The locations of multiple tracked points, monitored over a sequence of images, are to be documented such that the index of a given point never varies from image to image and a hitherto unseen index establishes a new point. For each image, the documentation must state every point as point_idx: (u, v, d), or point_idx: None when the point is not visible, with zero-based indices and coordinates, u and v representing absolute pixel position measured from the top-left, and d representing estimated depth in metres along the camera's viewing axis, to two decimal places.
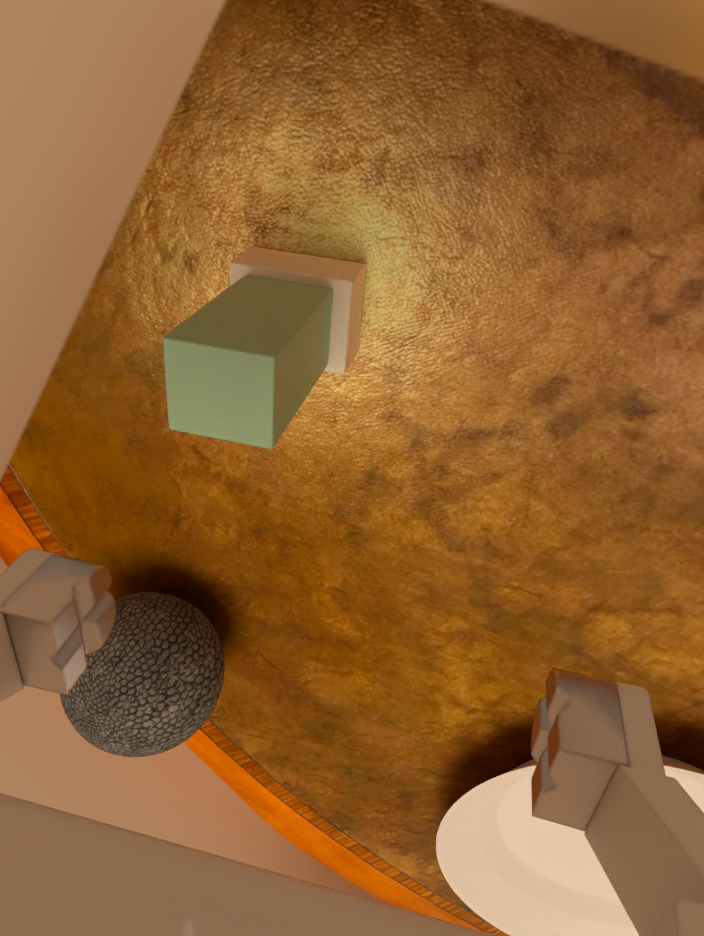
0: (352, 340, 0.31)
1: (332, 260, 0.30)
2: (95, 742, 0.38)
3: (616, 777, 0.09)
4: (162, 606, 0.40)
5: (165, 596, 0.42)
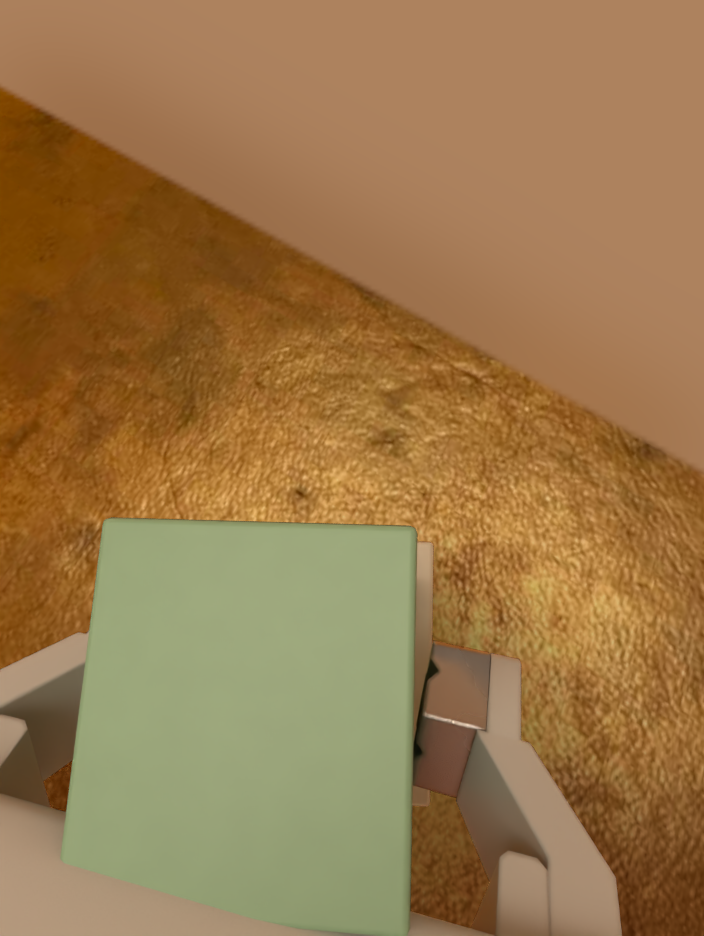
0: None
1: None
2: None
3: (474, 742, 0.10)
4: None
5: None
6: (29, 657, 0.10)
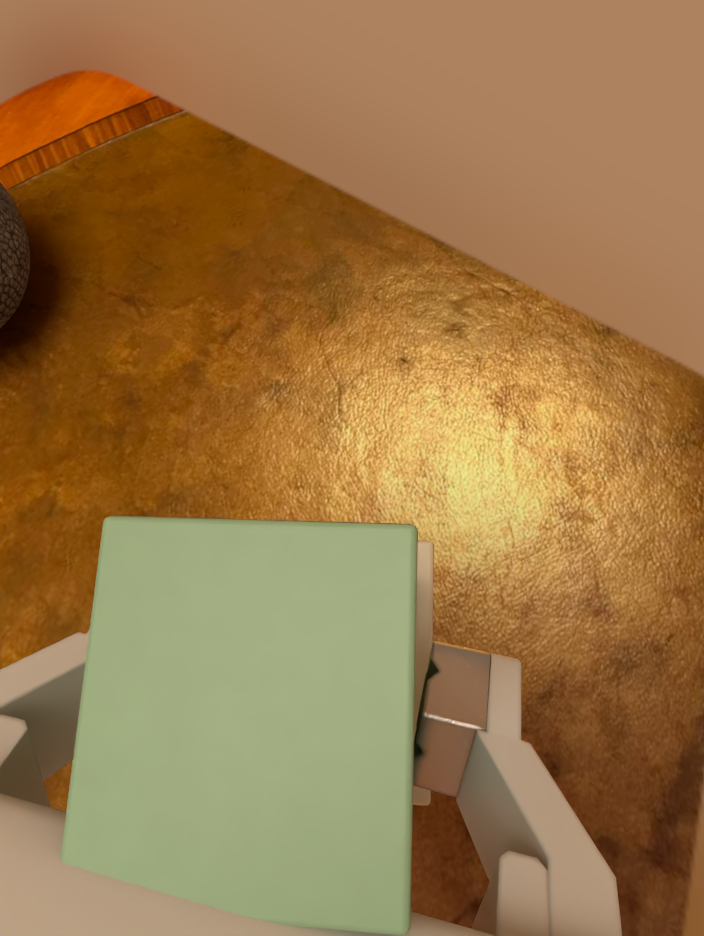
0: None
1: None
2: None
3: (475, 742, 0.10)
4: (20, 276, 0.31)
5: (27, 281, 0.32)
6: (29, 657, 0.10)
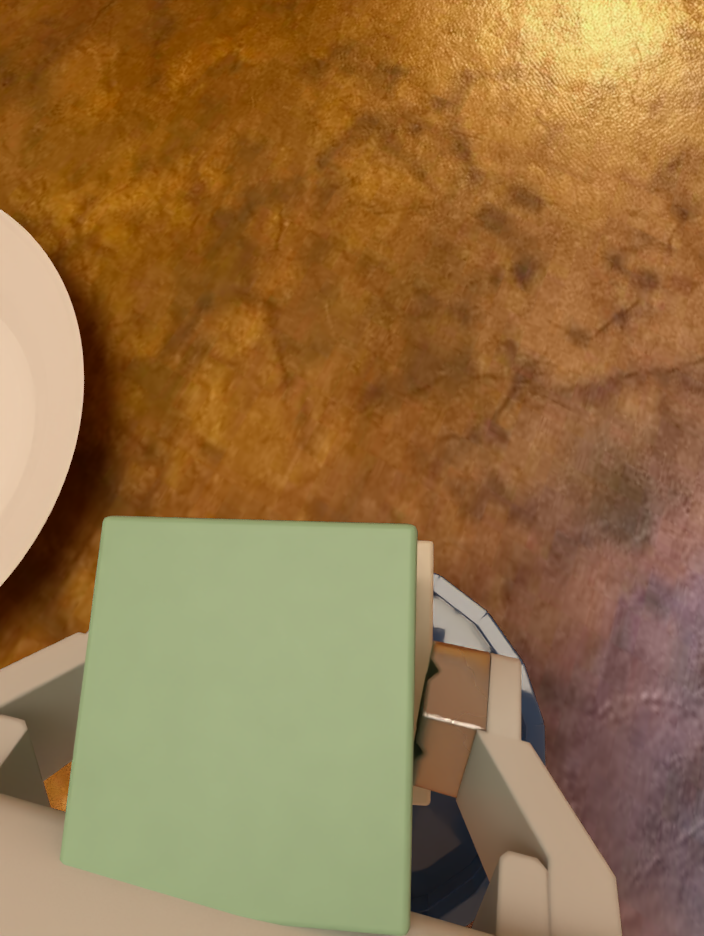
0: None
1: None
2: None
3: (475, 742, 0.10)
4: None
5: None
6: (29, 657, 0.10)
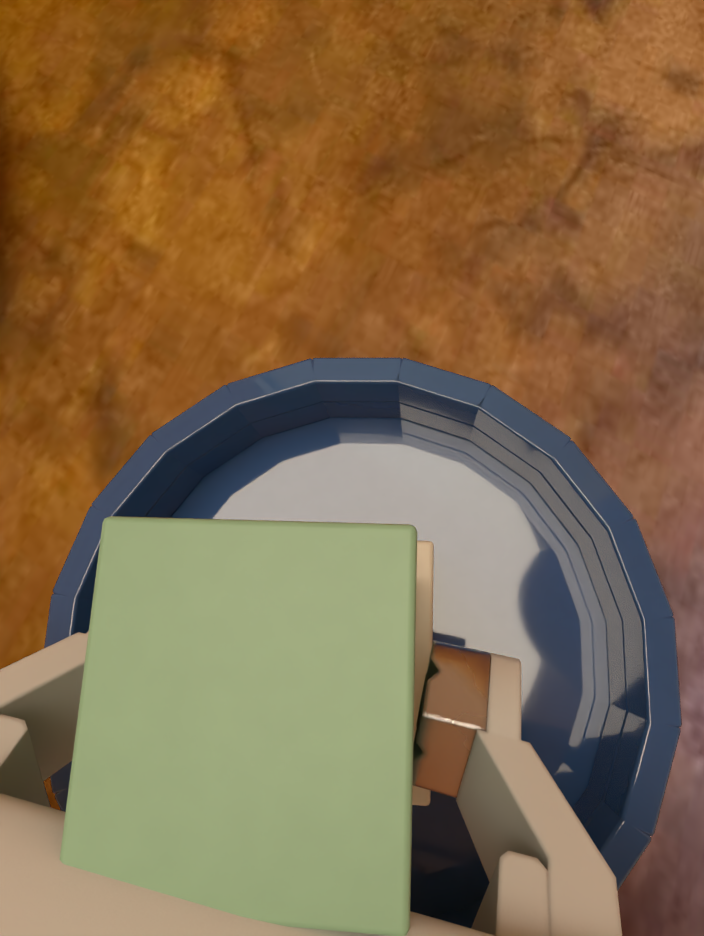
0: None
1: None
2: None
3: (475, 742, 0.10)
4: None
5: None
6: (29, 657, 0.10)
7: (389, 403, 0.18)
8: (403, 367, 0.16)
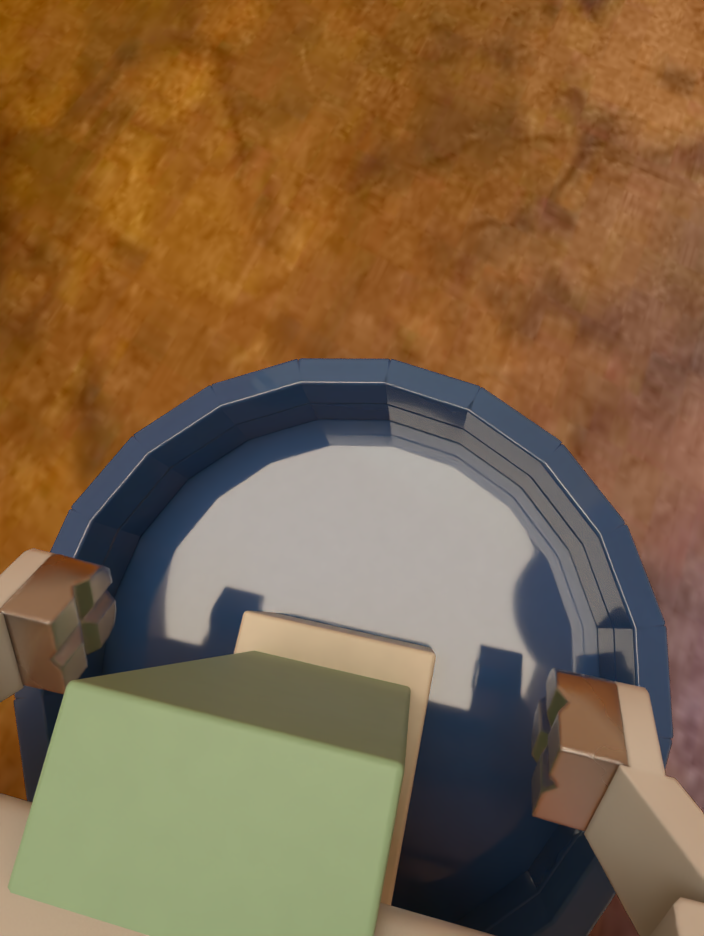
0: None
1: None
2: None
3: (616, 777, 0.09)
4: None
5: None
6: None
7: (377, 405, 0.17)
8: (391, 368, 0.16)
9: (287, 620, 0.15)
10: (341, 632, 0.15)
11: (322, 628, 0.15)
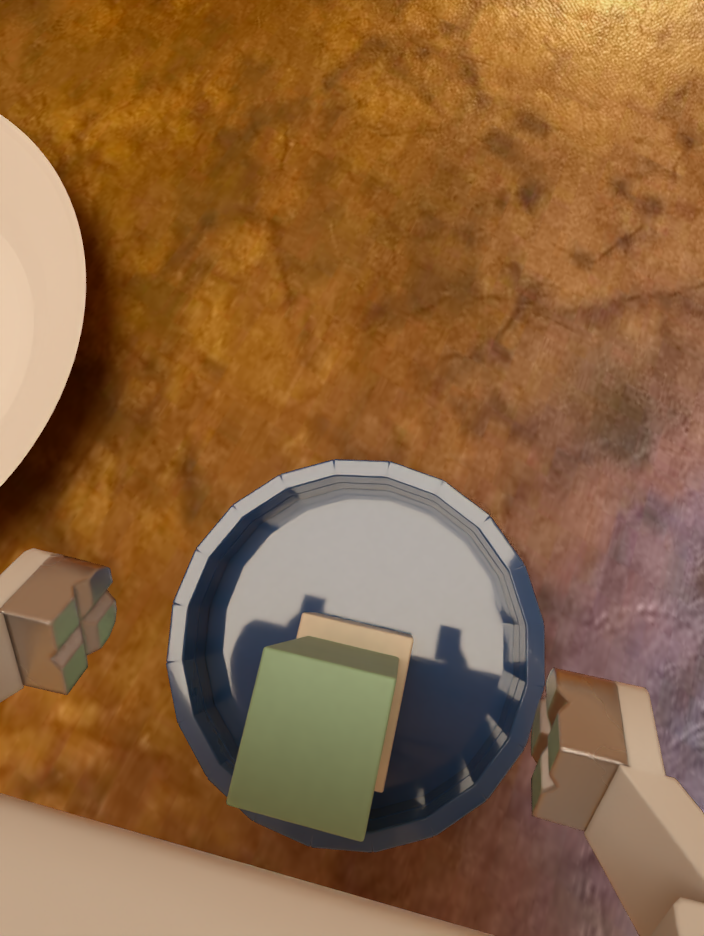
0: None
1: None
2: None
3: (616, 777, 0.09)
4: None
5: None
6: None
7: (381, 484, 0.28)
8: (390, 467, 0.26)
9: (327, 618, 0.25)
10: (359, 625, 0.25)
11: (348, 623, 0.25)
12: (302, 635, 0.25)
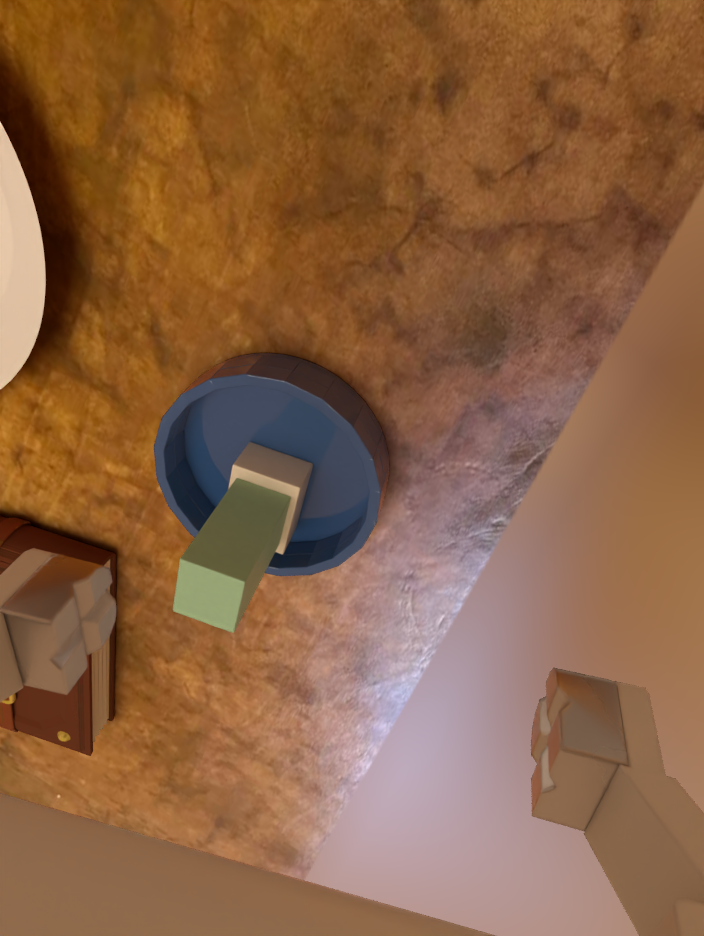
0: None
1: (299, 514, 0.44)
2: None
3: (616, 777, 0.09)
4: None
5: None
6: None
7: None
8: (285, 385, 0.36)
9: (248, 469, 0.40)
10: (267, 476, 0.40)
11: (261, 474, 0.40)
12: (233, 476, 0.40)
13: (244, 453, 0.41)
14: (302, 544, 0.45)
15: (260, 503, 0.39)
